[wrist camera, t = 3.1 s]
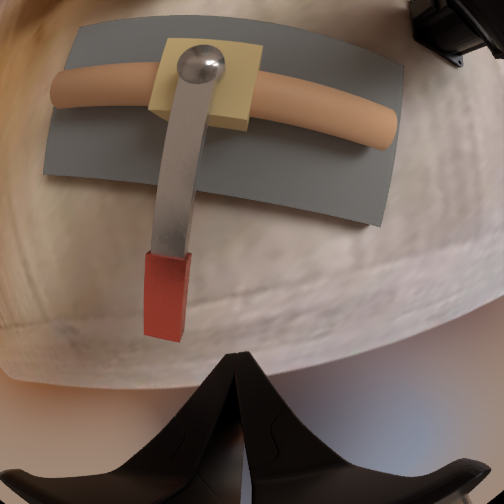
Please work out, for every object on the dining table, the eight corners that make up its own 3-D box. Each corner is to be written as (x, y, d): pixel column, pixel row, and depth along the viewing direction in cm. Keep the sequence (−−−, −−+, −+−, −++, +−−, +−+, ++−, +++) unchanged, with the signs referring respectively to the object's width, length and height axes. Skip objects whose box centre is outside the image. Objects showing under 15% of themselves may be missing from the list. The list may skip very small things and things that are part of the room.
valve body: (395, 70, 17) (435, 48, 11) (372, 223, 21) (412, 242, 15) (87, 32, 15) (53, 8, 9) (52, 173, 19) (6, 178, 13)
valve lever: (187, 52, 12) (182, 42, 10) (230, 55, 12) (229, 44, 10) (149, 322, 16) (142, 334, 15) (185, 330, 16) (181, 342, 15)
